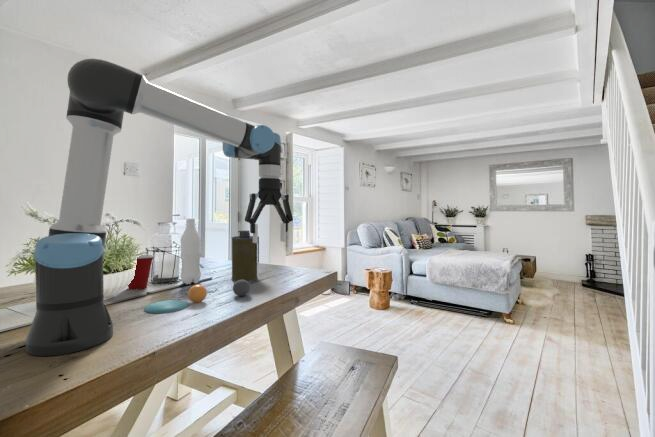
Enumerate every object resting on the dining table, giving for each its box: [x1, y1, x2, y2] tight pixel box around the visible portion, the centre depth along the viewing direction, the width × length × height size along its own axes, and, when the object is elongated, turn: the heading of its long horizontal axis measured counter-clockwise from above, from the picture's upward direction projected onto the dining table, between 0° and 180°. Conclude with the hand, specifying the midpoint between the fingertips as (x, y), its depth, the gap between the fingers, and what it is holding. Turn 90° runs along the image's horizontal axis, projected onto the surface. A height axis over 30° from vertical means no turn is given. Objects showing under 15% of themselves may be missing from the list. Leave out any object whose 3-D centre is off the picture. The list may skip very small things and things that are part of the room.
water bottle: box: [180, 218, 202, 285], centre depth 124 cm, size 7×7×25 cm
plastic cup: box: [127, 254, 155, 291], centre depth 117 cm, size 11×11×12 cm
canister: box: [231, 230, 260, 283], centre depth 132 cm, size 11×10×20 cm
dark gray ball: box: [232, 280, 251, 297], centre depth 108 cm, size 6×6×6 cm
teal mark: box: [143, 299, 190, 314], centre depth 95 cm, size 12×12×1 cm
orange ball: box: [187, 284, 208, 304], centre depth 100 cm, size 6×6×6 cm
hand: (269, 241), depth 112 cm, fingers open, 10 cm apart
